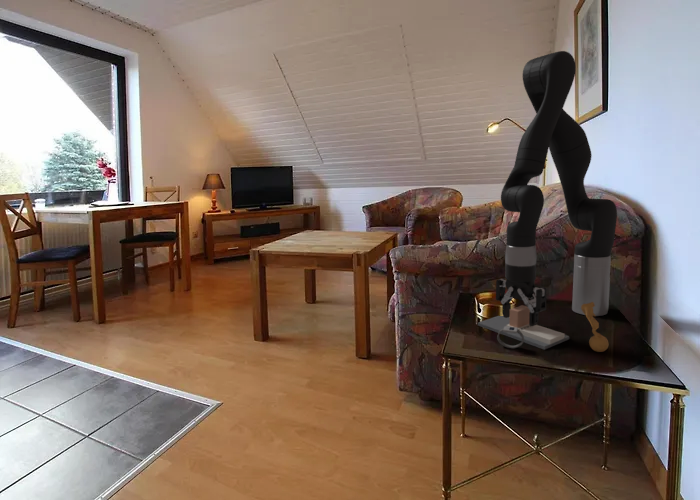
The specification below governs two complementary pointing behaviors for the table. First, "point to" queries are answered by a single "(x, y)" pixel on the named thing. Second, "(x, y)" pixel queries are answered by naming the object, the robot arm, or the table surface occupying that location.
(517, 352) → the table surface
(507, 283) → the robot arm
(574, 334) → the table surface
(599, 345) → the figurine
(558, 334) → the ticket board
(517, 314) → the tan rectangular block
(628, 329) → the table surface
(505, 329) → the wristwatch
